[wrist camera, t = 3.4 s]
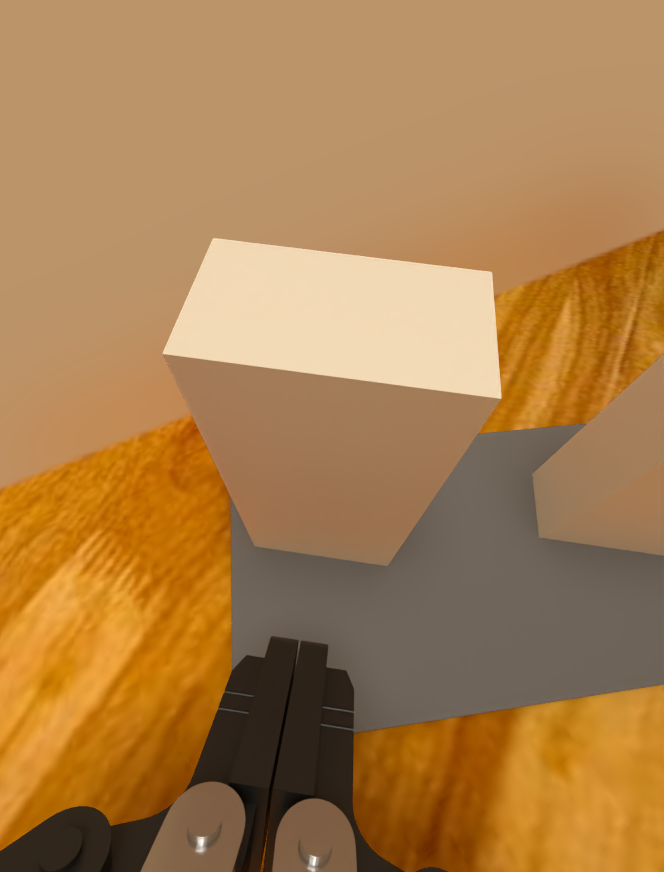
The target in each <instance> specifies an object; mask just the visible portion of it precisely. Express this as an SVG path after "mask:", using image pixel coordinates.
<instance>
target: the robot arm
mask: <svg viewBox="0 0 664 872" xmlns="http://www.w3.org/2000/svg"><path fill="white" fill-rule="evenodd" d="M298 644H299V640H296V639H289V638H283V637H276V636H271V638H270V641H269V644H268V648H267V651H266V655H265V658H263V657H256V656H250V655H246V656H245V657H244V658H243V659H242V660H241V661H240V662H239V664H238V665H237V666H236V667H235V668H234V669H233V670H232V672H231V675H230V678H229V680H228V683H227V686H226V688H225V692H224V694H223V697H222V699H221V702H220V705H219V709H218V711H217V713H216V715H215V718H214V721H213V724H212V726H211V729H210V732H209V734H208V737H207V740H206V742H205V745H204V748H203V751H202V753H201V756H200V759H199V761H198V764H197V767H196V769H195V772H194V775H193V777H192V779H191V782H190V784H189V785H188V787H187V789H186V790H185V791H184V793H183V794H182V795H181V796H180V797H179V798H178V799H177V800H176V801H175V802H174V803H173V804H172V805H171V806H169V807H168V808H167V809H165V810H164V811H162V812H160V813H158V814H156V815H154V816H152V817H149V818H145V819H141V820H137V821H132V822H127V823H123V824H118V825H113V826H110V825H109V822H108V820H107V818H106V817H105V815H104V814H103V813H102V812H101V811H99V810H97V809H95V808H92V807H88V806H79V807H73V808H69V809H66V810H63V811H61V812H59V813H57V814H55V815H53V816H52V817H50V818H48V819H47V820H45V821H44V822H42V823H41V824H40V825H38V826H37V827H35V828H34V829H32V830H31V831H29V832H28V833H26V834H25V835H23V836H22V837H20V838H19V839H18V840H16V841H15V842H13V843H12V844H10V845H9V846H7V847H6V848H4V849H3V850H1V851H0V872H260V869H261V863H262V858H263V853H264V847H265V842H266V836H267V843H266V852H265V860H264V869H263V872H404V871H402V870H401V869H399V868H397V867H396V866H394V865H392V864H391V863H389V862H387V861H386V860H384V859H383V858H381V857H380V856H379V855H377V854H376V853H375V852H374V851H373V850H372V849H371V848H370V847H369V845H368V844H367V843H366V842H365V840H364V838H363V837H362V835H361V834H360V831H359V829H358V827H357V825H356V821H355V818H354V813H353V804H352V794H353V737H354V732H353V729H354V687H353V685H352V683H351V680H350V678H349V675H348V673H347V671H346V670H341V669H334V668H328V667H326V665H327V655H328V644H323V643H316V642H310V641H303V640H301V643H300V648H299V653H298V659H297V652H298ZM296 660H297V664H296ZM295 668H296V669H295ZM268 825H269V827H268ZM267 831H268V835H267ZM416 872H447V871H446V870H443V869H440V868H433V867H429V868H423V869H420V870H418V871H416Z"/></svg>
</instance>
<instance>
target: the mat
mask: <svg viewBox="0 0 664 872" xmlns="http://www.w3.org/2000/svg"><path fill="white" fill-rule="evenodd" d="M585 425H586V424H578V425H567V426H556V427H546V428H535V429H524V430H514V431H503V432H492V433H482V434H477V435H476V437H475V438H474V440H473V441H472V443H471V444H470V446H469V447H468V449H467V450H466V452H465V453H464V455H463V456H462V457H461V459H460V460H459V462H458V463H457V465H456V466H455V468H454V469H453V471H452V472H451V474H450V475H449V477H448V478H447V479H446V481H445V482H444V484H443V485H442V487H441V488H440V490H439V491H438V493H437V494H436V496H435V497H434V499H433V500H432V502H431V503H430V504H429V506H428V507H427V509H426V510H425V512H424V513H423V515H422V516H421V518H420V519H419V521H418V522H417V524H416V525H415V526H414V528H413V529H412V531H411V532H410V534H409V535H408V537H407V538H406V540H405V541H404V543H403V544H402V546H401V547H400V548H399V550H398V551H397V553H396V554H395V556H394V557H393V559H392V560H391V562H390V563H389V565H388V566H382V565H376V564H369V563H362V562H356V561H349V560H342V559H336V558H329V557H322V556H315V555H309V554H302V553H295V552H289V551H282V550H275V549H269V548H262V547H255V546H254V544H253V542H252V540H251V538H250V536H249V534H248V532H247V529H246V527H245V525H244V523H243V521H242V519H241V517H240V515H239V513H238V511H237V509H236V506H235V504H234V502H233V500H232V498H231V600H232V670H233V669H234V668H235V667H236V666H237V665H238V664H239V662H240V661H241V660H242V659H243V658H244V657H245V656H246V655H250V656H256V657H263V658H265V655H266V651H267V648H268V644H269V641H270V638H271V636H276V637H283V638H289V639H296V640H299V644H298V652H297V659H298V653H299V648H300V643H301V640H303V641H310V642H316V643H323V644H328V655H327V665H326V667H328V668H334V669H341V670H346V671H347V673H348V675H349V678H350V680H351V683H352V685H353V687H354V729H353V732H354V733H358V732H364V731H370V730H377V729H383V728H389V727H396V726H402V725H409V724H415V723H421V722H428V721H434V720H440V719H447V718H453V717H459V716H466V715H472V714H479V713H485V712H491V711H498V710H504V709H510V708H517V707H523V706H529V705H536V704H542V703H549V702H555V701H561V700H568V699H574V698H580V697H587V696H593V695H600V694H606V693H612V692H619V691H625V690H631V689H638V688H644V687H650V686H657V685H663V684H664V556H663V555H656V554H649V553H643V552H636V551H629V550H622V549H615V548H608V547H601V546H594V545H587V544H580V543H573V542H566V541H560V540H553V539H546V538H539V532H538V523H537V514H536V504H535V495H534V486H533V476H532V474H533V473H534V472H535V471H536V470H537V469H538V468H539V467H540V466H541V465H543V464H544V463H545V462H546V461H547V460H548V459H549V458H550V457H551V456H552V455H554V454H555V453H556V452H557V451H558V450H559V449H560V448H561V447H562V446H563V445H564V444H566V443H567V442H568V441H569V440H570V439H571V438H572V437H573V436H574V435H575V434H576V433H578V432H579V431H580V430H581V429H582V428H583V427H584V426H585ZM296 664H297V660H296ZM295 669H296V668H295Z"/></svg>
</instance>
